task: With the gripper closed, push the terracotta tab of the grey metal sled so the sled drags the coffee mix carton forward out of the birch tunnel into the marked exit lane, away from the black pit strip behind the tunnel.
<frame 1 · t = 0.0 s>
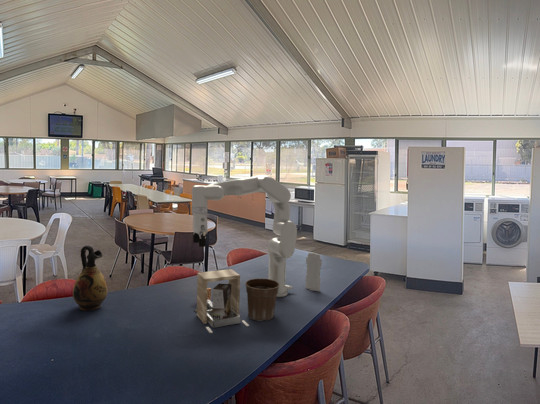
hand: (199, 244, 189), 31 cm above the table, fingers open, 9 cm apart
coffee box: (221, 321, 174), resting in sled
tall pale column: (312, 289, 222), on the table
pit strip: (210, 308, 188), on the table
tunnel: (217, 316, 178), on the table
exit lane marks: (227, 326, 167), on the table
sled: (214, 305, 182), point 4 cm above the table, slide at 0.0 cm
plant pot: (261, 316, 180), on the table
ceramic jug: (89, 307, 186), on the table
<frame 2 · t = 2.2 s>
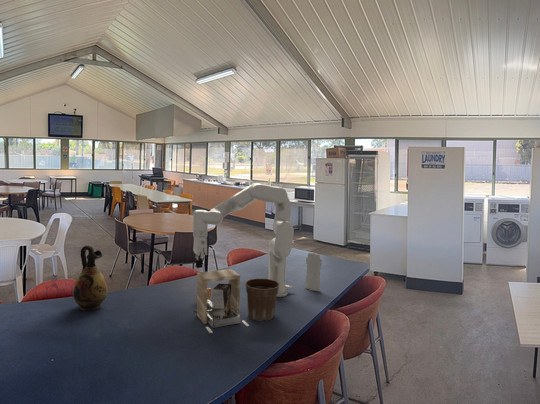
hand: (199, 267, 202), 16 cm above the table, fingers closed
nothing on the table moved.
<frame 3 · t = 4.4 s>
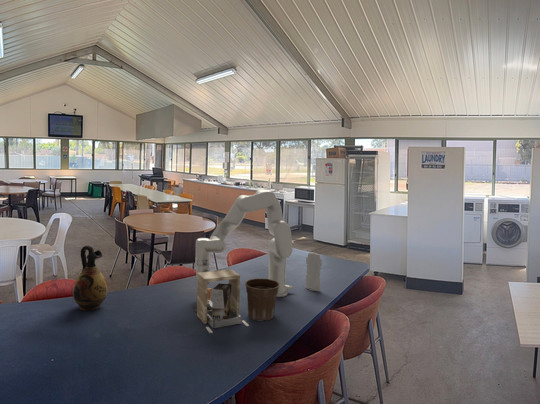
hand: (202, 296, 199), 2 cm above the table, fingers closed
coffee box: (221, 321, 174), resting in sled
sled: (214, 306, 182), point 4 cm above the table, slide at 0.6 cm, touching coffee box, gripper
everything else where it was.
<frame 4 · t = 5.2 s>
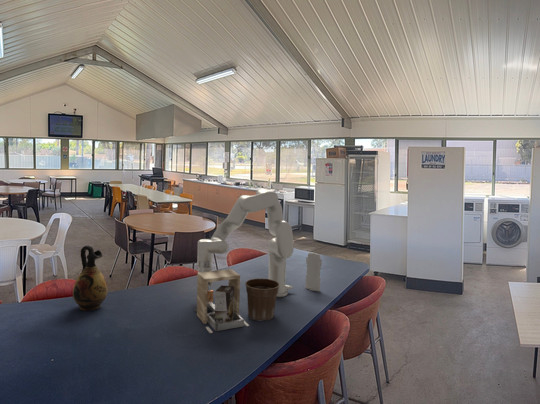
hand: (204, 298, 196), 2 cm above the table, fingers closed
coffee box: (224, 323, 171), resting in sled
sled: (217, 308, 179), point 4 cm above the table, slide at 3.8 cm, touching gripper
everything else where it was.
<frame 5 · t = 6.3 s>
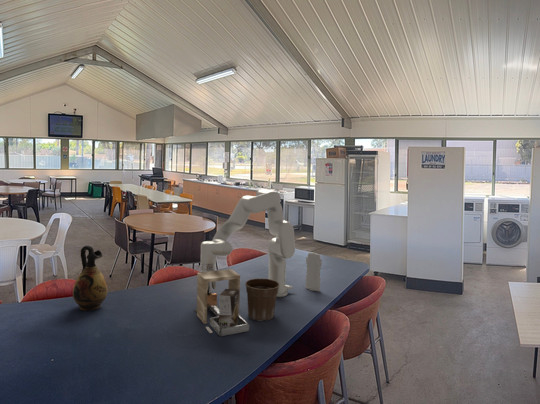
hand: (207, 301, 192), 2 cm above the table, fingers closed
coffee box: (228, 328, 166), resting in sled
sled: (221, 312, 174), point 4 cm above the table, slide at 9.1 cm, touching coffee box, gripper
everything else where it was.
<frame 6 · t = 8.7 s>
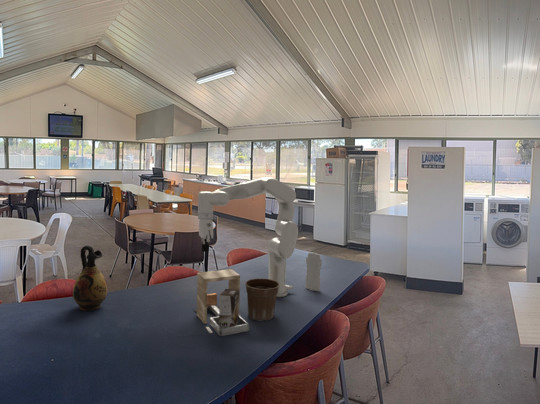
hand: (205, 251, 194), 27 cm above the table, fingers closed
coffee box: (228, 328, 166), resting in sled
sled: (221, 312, 175), point 4 cm above the table, slide at 9.0 cm
everything else where it was.
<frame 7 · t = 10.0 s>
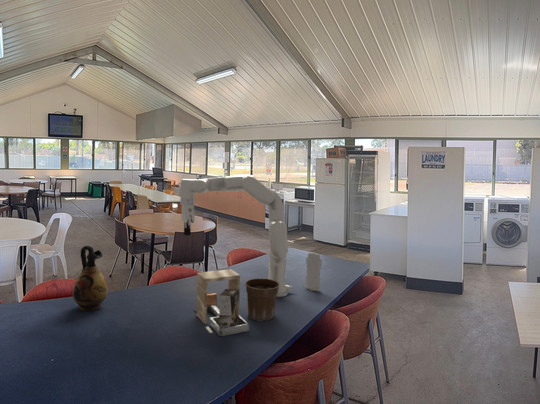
hand: (187, 234, 208), 32 cm above the table, fingers closed
nothing on the table moved.
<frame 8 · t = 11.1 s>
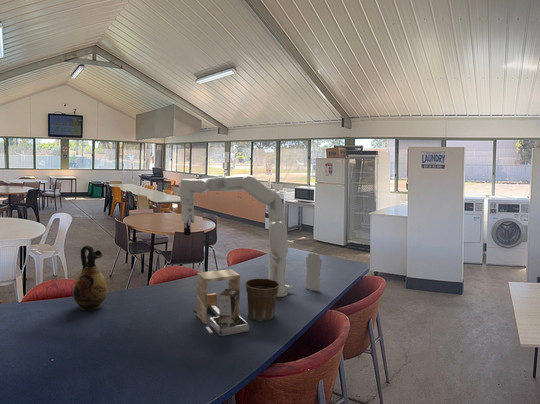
hand: (187, 235, 208), 32 cm above the table, fingers closed
nothing on the table moved.
at the end: sled slide at 9.0 cm; coffee box inside the target area (1.4 cm from its centre), resting in sled; coffee box tilted 0° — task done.
